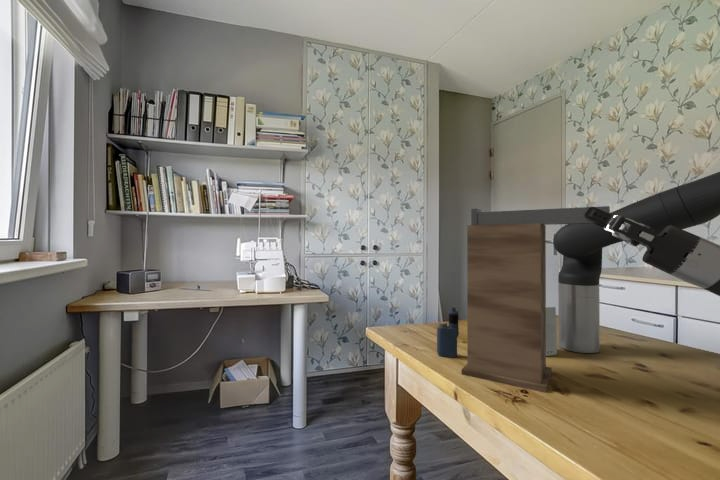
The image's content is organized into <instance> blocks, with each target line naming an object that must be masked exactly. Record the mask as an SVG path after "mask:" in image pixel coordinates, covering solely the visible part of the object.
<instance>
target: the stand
mask: <svg viewBox="0 0 720 480" xmlns="http://www.w3.org/2000/svg"><path fill="white" fill-rule="evenodd" d="M466 227H467V228H466V231H467V232H466V233H467V236H466V237H467V239H466V241H467V246H466V247H467V248H466V249H467V250H466V253H467V254H466V259H467V262H466V265H467V267H466V269H467V270H466V272H467V273H466V275H467V279H466V281H467V285H466V288H467V289H466V291H467V292H466V293H467V294H466V295H467V297H466V298H467V299H466V300H467V304H466V305H467V307H466V309H467V314H466V315H467V316H466V317H467V336H466V337H467V340H466V341H467V363H466V364H465V366H463V367H462V369H461V375H463V376H469V377H472V378H473V377H474V378H478V379H482V380H486V381H491V382H496V383H499V384H505V385H510V386H514V387H519V388H522V389H523V388H524V389H527V390H534V391H537V392H543V393H547V390H548V387H549V383H550V380H551V379H550V378H551V376H552V371H553V370H552V367H550V366H547V356H546V304H547V301H546V299H547V298H546V296H547V295H546V294H547V293H546V289H547V287H546V286H547V285H546V284H547V281H546V279H547V278H546V276H547V273H546V271H547V268H546V263H547V262H546V261H547V260H546V254H547V253H546V250H547V249H546V248H547V247H546V242H547V241H546V238H547V237H546V235H547V234H546V232H547V231H546V225H543V224H540V223H537V224H499V225H471V224H469V225H466Z"/></svg>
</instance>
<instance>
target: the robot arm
mask: <svg viewBox="0 0 720 480" xmlns="http://www.w3.org/2000/svg"><path fill="white" fill-rule="evenodd" d="M589 207H590V208H589V209H588V210H587V212H586V213H585V217H586V218H588V219H590V220H592V221H594V222H597V223H596V224H564V225H563V226H562V227H560V229H558V230H557V231H556V232H555V234H554V236H553V247H554V248H555V250H556V252H557V253H558V254H560V255H562V264H561V265H562V266H561V269H560V271H559V272H558V279H557V282H558V290H557V291H558V292H557V293H558V347H559V348H561V349H564V350H567V351H571V352H574V353H582V354H595V353H599V352H600V348H601V347H600V338H601V337H600V335H601V334H600V332H601V331H600V327H601V326H600V325H601V323H600V317H601V315H600V313H601V310H600V278H601V274H602V268H603V249H604V248H606V247H609V246H612V245H615V244H617V243H621V242H624V243H627V244H628V245H630V246H632V247H635V248H636V247H638V246H640V245H641V246H644V247H645V248H646V251H645V252H644V253H643V256H642V262H643V263H645V264H648V265H649V266H652V267H653V268H656V269H658V270H660V271H662V272H663V273H666V274H668V275H670V276H672V277H675V278H676V279H679V280H680V281H683V282H685V283H688V284H690V285H693V286H696V287H699V288H701V289H704V291H705V290H706V291H708V292H710V293H712V294H713V295H716V296H719V297H720V244H718V243H715V242H713V241H710V240H709V239H706V238H704V237H701V236H700V235H696V234H694V233H692V232H689V231H686V229H688V228H689V229H690V228H692V227H697V226H699V225H703V224H706V223H708V222H711V221H712V220H714V219H716V218H717V217H720V171H718V172H716V173H715V172H714V173H712V174H709V175H706V176H705V177H701V178H698V179H696V180H693V181H690V182H687V183H684V184H680V185H678V186H675V187H674V186H673V187H672V188H669V189H666V190H664V191H660V192H657V193H655V194H653V195H650V196H647V197H644V198H642V199H640V200H638V201H635V202H632V203H630V204H628V205H626V206H623V207H621V208H618V209H617V210H614V211H612V212H610V214H609V213H607V212H604V211H602V210H600V209H598V208H595V207H596V206H589Z"/></svg>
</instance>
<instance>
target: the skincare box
mask: <svg viewBox="0 0 720 480" xmlns="http://www.w3.org/2000/svg"><path fill="white" fill-rule="evenodd" d="M556 314H557V313H556V306H551V305H546V357H551V356H555V355H557V354H558V344H557V343H558V342H557V341H558V336H557V316H556Z"/></svg>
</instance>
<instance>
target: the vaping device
mask: <svg viewBox="0 0 720 480" xmlns="http://www.w3.org/2000/svg"><path fill="white" fill-rule="evenodd" d="M459 334H460V332H459V311H458V310H456V307H451V310H448V322H446V321H440V322H438V325H437V329H436V353H437V355H438V357H442V358H458V356H459V355H458V336H459Z"/></svg>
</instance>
